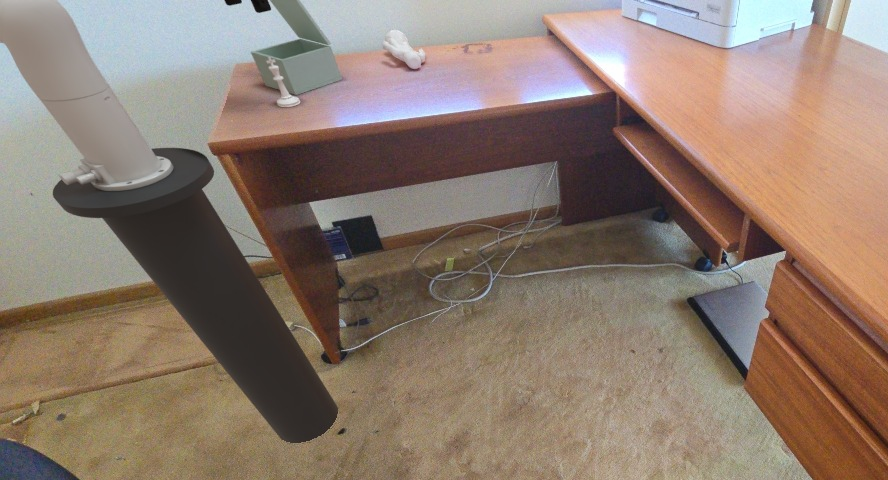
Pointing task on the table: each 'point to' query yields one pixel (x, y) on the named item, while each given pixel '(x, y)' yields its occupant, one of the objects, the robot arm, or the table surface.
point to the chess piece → (282, 88)
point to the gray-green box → (298, 65)
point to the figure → (403, 49)
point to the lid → (300, 20)
